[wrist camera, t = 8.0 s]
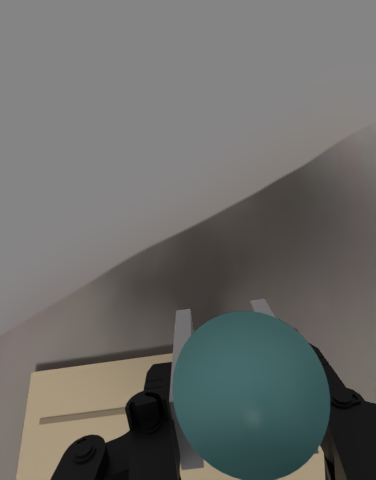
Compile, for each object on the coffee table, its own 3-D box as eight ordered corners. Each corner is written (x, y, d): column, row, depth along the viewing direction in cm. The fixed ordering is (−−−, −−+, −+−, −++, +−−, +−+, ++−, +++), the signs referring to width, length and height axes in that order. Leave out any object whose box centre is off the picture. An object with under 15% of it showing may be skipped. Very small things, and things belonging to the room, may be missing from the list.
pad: (300, 337, 21) (302, 335, 20) (377, 599, 15) (383, 606, 14) (36, 373, 22) (31, 372, 21) (-1, 639, 15) (-10, 647, 15)
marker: (258, 380, 19) (302, 301, 8) (272, 448, 17) (355, 470, 6) (201, 387, 19) (167, 320, 8) (209, 456, 17) (179, 491, 6)
